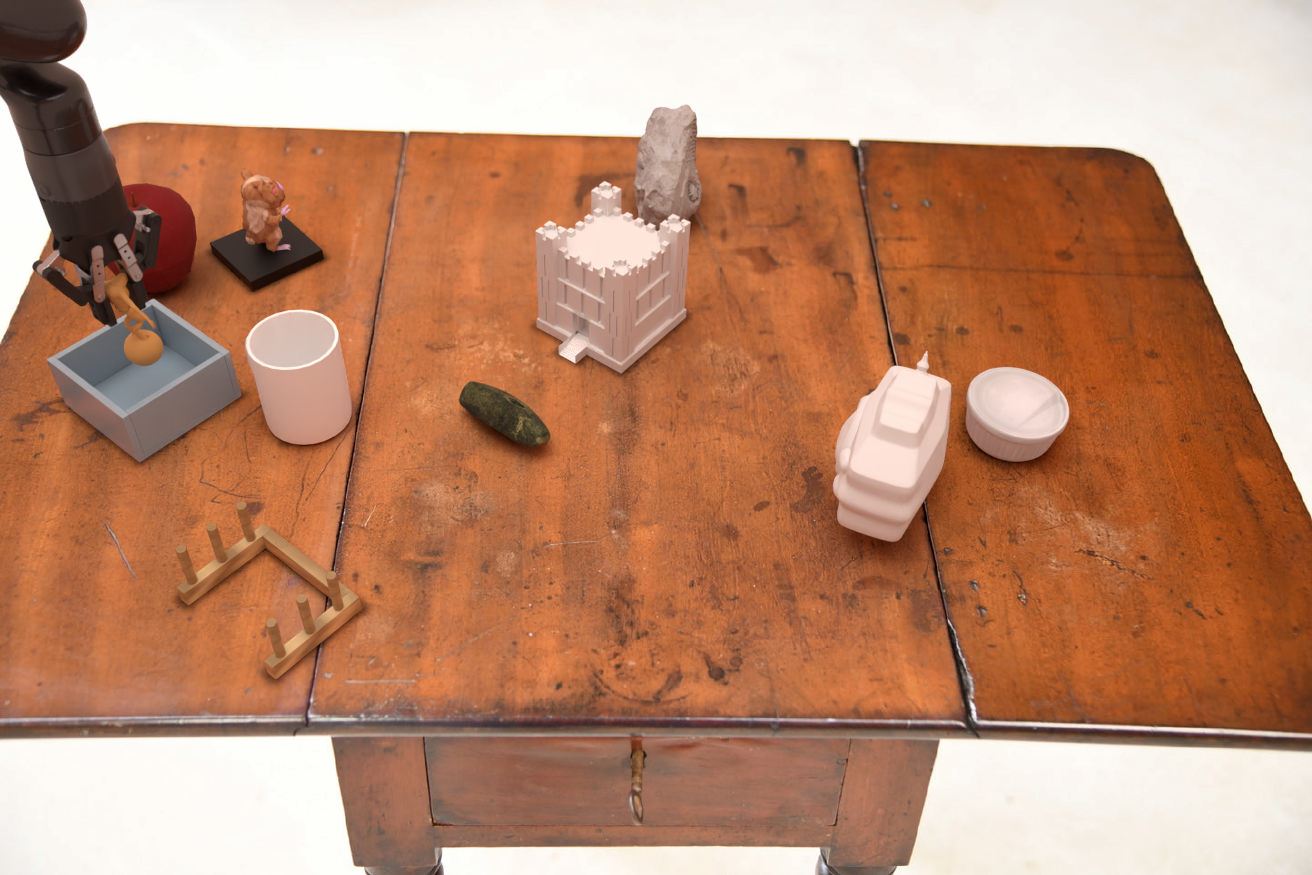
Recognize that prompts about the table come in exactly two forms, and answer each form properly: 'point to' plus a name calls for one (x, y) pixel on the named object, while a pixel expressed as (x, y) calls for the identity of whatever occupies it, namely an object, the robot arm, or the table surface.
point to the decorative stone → (504, 414)
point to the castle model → (611, 282)
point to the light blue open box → (146, 382)
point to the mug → (300, 376)
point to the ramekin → (1014, 413)
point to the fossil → (667, 167)
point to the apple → (165, 235)
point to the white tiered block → (892, 451)
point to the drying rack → (324, 581)
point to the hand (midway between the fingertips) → (123, 313)
